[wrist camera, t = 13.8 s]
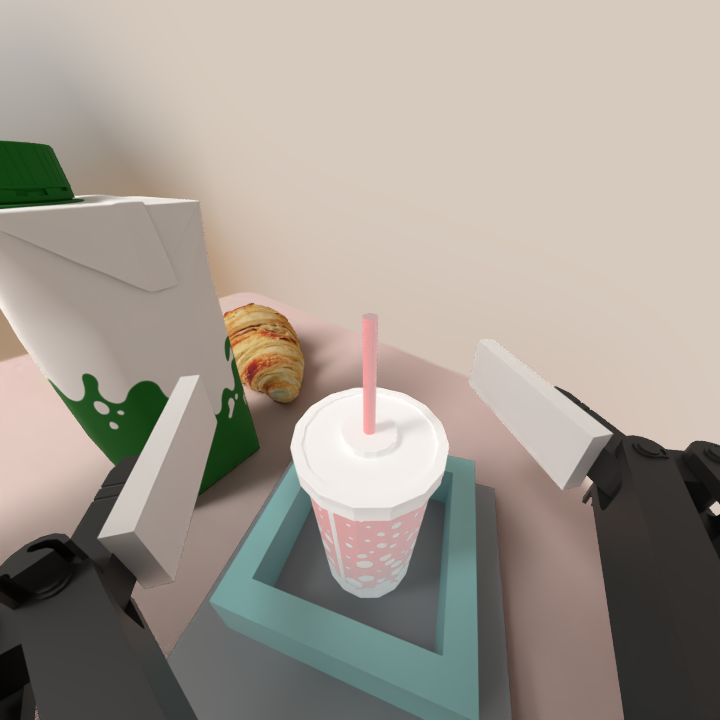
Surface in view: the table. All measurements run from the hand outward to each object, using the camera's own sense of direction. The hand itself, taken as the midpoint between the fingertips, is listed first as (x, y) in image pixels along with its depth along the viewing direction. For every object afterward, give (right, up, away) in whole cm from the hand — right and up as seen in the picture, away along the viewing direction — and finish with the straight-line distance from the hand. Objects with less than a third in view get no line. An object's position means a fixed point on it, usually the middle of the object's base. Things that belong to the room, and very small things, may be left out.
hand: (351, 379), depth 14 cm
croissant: (-12, 0, +21) cm, 24 cm away
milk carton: (-13, -7, +9) cm, 17 cm away
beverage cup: (+1, -10, +2) cm, 10 cm away
